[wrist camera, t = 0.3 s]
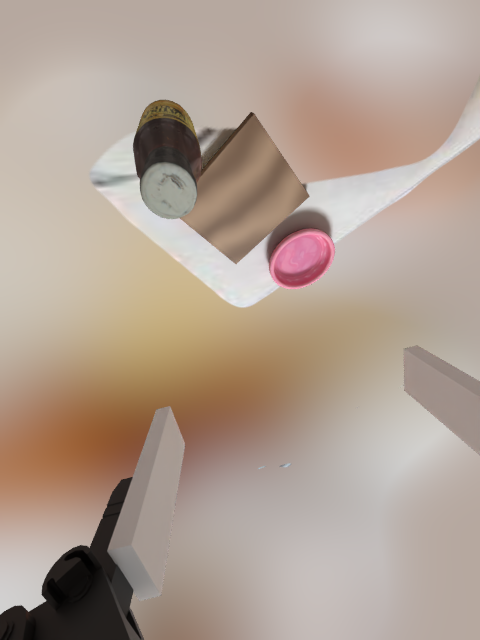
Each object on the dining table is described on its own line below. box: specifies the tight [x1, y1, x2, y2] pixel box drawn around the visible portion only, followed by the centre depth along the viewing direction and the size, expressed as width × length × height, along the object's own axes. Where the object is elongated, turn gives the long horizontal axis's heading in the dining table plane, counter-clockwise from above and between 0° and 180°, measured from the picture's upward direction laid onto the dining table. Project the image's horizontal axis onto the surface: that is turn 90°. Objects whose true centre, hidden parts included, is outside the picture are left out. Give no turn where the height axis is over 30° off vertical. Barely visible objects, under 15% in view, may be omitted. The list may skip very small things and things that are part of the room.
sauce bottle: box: [133, 100, 202, 219], centre depth 25 cm, size 7×6×20 cm
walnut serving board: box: [180, 112, 309, 264], centre depth 39 cm, size 14×16×2 cm
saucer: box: [269, 228, 335, 289], centre depth 49 cm, size 12×12×3 cm
